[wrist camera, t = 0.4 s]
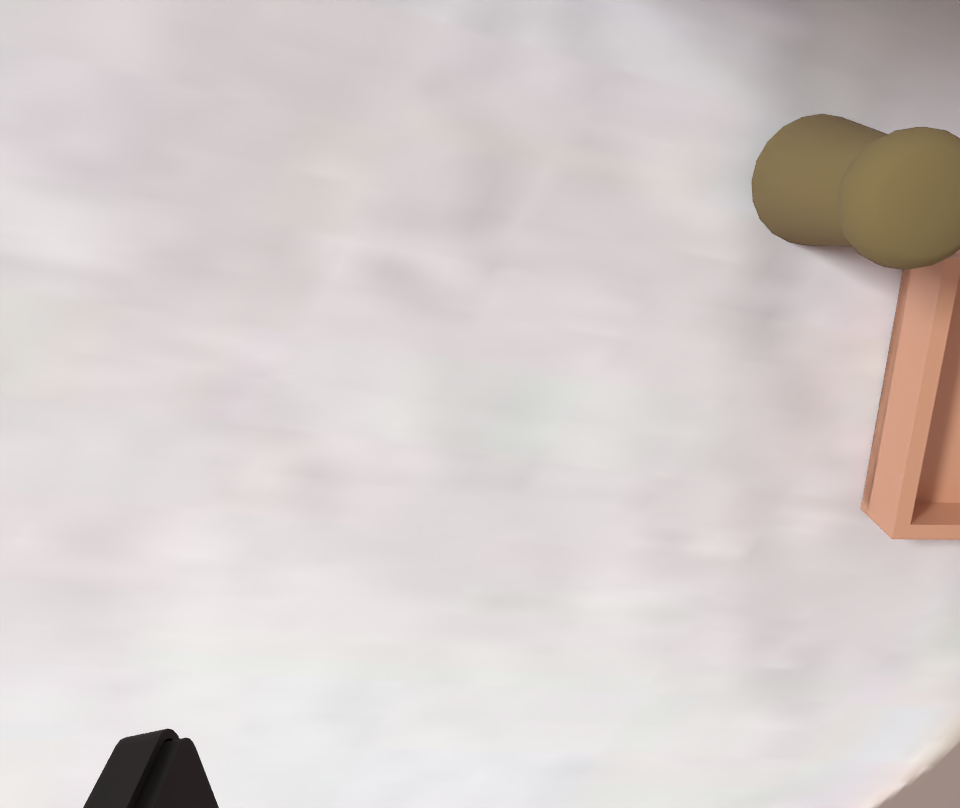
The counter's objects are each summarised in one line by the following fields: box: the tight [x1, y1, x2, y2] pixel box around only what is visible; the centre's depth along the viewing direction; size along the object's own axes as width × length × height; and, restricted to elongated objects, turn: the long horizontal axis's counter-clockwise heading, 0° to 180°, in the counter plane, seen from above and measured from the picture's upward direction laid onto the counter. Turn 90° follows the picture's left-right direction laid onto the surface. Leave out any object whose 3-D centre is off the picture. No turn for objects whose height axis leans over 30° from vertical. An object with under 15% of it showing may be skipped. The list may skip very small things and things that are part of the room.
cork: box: [752, 114, 960, 270], centre depth 37 cm, size 6×6×11 cm
